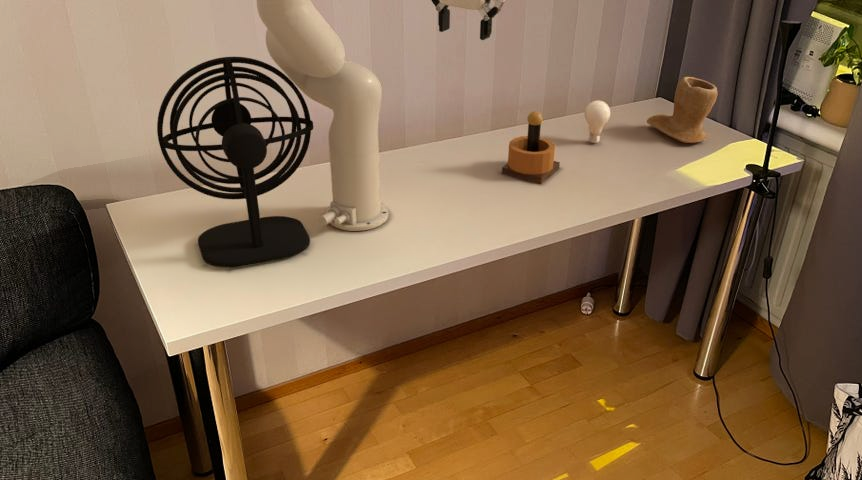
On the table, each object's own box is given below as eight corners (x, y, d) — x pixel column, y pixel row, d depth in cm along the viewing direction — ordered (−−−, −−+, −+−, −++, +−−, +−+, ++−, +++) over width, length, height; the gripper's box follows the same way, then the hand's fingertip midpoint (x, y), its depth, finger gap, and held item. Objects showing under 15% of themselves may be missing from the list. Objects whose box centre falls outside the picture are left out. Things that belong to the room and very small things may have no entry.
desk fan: (313, 210, 162) (298, 41, 143) (336, 251, 149) (324, 70, 130) (175, 233, 152) (140, 54, 133) (187, 279, 139) (151, 87, 120)
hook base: (541, 184, 177) (541, 177, 176) (501, 173, 181) (502, 167, 180) (559, 168, 184) (559, 162, 184) (521, 158, 188) (521, 152, 187)
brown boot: (717, 142, 202) (729, 85, 194) (682, 149, 197) (693, 91, 189) (678, 121, 213) (688, 67, 205) (644, 128, 208) (653, 72, 200)
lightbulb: (579, 145, 196) (583, 103, 190) (583, 136, 202) (588, 95, 196) (604, 149, 195) (609, 107, 189) (608, 140, 200) (613, 98, 194)
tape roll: (540, 178, 176) (541, 158, 173) (499, 167, 180) (501, 146, 177) (560, 162, 183) (562, 142, 181) (521, 152, 188) (522, 132, 185)
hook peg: (534, 168, 180) (539, 115, 173) (521, 165, 181) (525, 112, 174) (541, 163, 182) (545, 110, 175) (528, 160, 184) (532, 107, 177)
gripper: (418, -58, 153) (419, 31, 162) (497, -46, 146) (492, 46, 155) (439, -63, 158) (438, 23, 167) (515, -52, 151) (510, 37, 161)
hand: (464, 34), depth 161 cm, fingers open, 9 cm apart
